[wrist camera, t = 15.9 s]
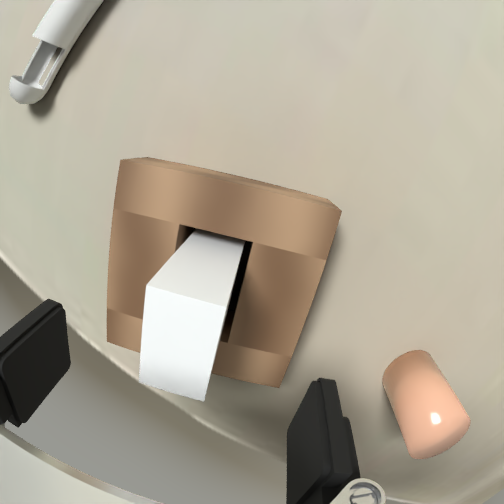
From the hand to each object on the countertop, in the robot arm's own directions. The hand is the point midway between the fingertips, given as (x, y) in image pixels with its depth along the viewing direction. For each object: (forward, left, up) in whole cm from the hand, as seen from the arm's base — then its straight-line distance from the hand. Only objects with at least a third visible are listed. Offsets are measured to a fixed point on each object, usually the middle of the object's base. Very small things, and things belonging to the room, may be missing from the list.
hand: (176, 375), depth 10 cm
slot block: (0, 0, -12) cm, 12 cm away
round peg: (-18, +6, -12) cm, 22 cm away
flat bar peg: (0, 0, -12) cm, 12 cm away
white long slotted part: (+15, -17, -12) cm, 26 cm away
